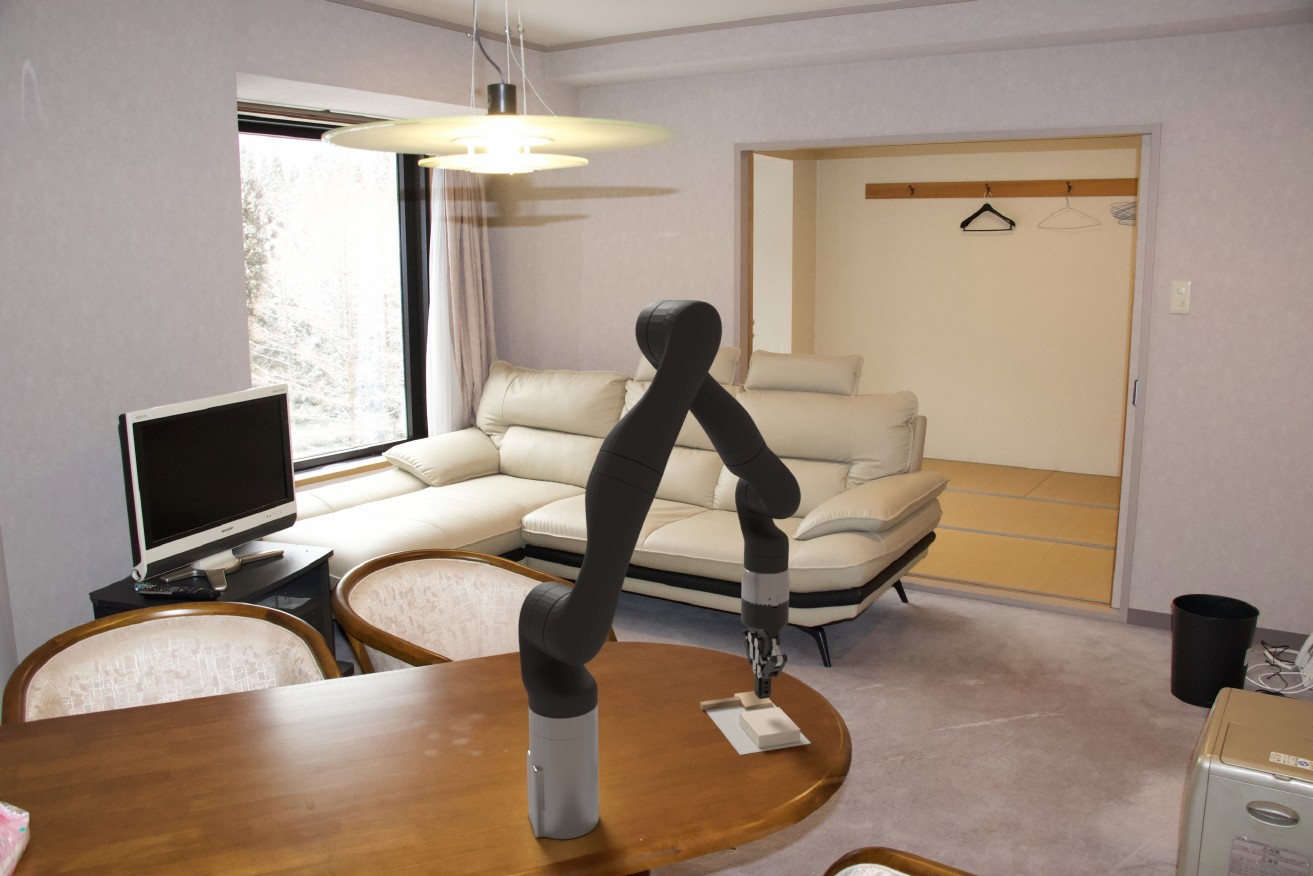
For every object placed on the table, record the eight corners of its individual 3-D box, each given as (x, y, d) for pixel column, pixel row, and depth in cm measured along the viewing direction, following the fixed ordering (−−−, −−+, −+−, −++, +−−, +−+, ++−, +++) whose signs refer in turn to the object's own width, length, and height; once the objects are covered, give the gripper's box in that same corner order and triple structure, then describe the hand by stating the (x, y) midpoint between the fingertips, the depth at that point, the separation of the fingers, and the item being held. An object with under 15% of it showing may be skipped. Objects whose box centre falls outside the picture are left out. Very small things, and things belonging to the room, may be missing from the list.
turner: (706, 715, 160) (706, 710, 160) (696, 702, 165) (696, 697, 165) (772, 705, 164) (772, 700, 164) (760, 693, 169) (760, 688, 168)
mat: (739, 758, 148) (740, 754, 148) (699, 706, 165) (699, 703, 165) (810, 746, 151) (811, 743, 151) (764, 697, 168) (764, 694, 168)
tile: (739, 725, 157) (758, 748, 150) (739, 713, 157) (759, 736, 149) (778, 719, 159) (799, 741, 152) (778, 707, 159) (800, 729, 151)
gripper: (727, 583, 158) (725, 682, 161) (760, 611, 145) (757, 718, 149) (769, 579, 160) (767, 677, 163) (805, 606, 148) (801, 711, 151)
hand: (762, 696), depth 156 cm, fingers closed
